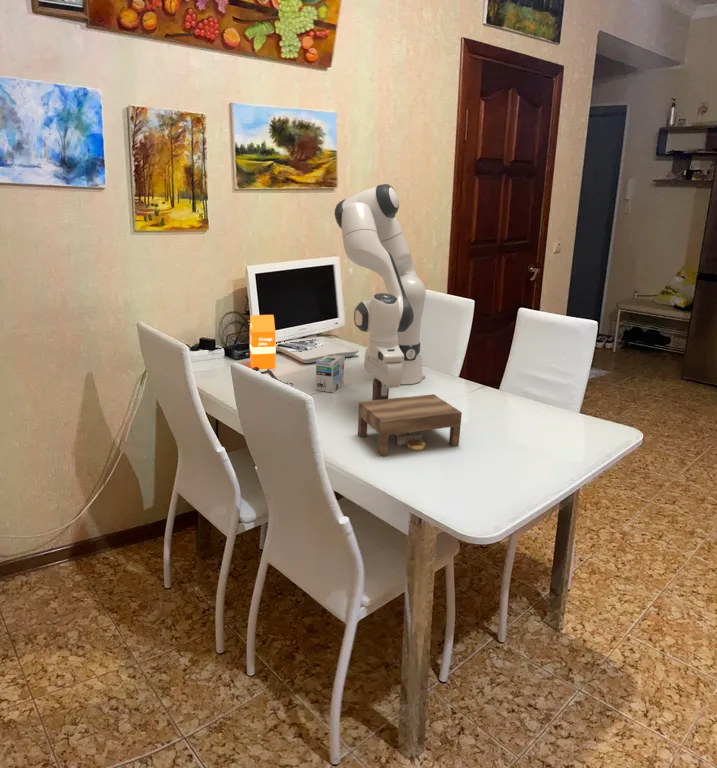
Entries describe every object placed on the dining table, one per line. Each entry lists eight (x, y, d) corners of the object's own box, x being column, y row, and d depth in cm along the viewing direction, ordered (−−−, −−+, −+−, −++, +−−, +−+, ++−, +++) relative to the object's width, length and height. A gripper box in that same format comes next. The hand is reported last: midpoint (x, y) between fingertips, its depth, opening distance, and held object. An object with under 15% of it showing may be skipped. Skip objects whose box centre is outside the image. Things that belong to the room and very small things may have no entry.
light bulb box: (333, 393, 218) (333, 363, 215) (315, 390, 220) (315, 360, 217) (344, 384, 227) (345, 355, 224) (327, 382, 230) (327, 353, 226)
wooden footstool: (357, 434, 183) (359, 401, 180) (431, 425, 192) (433, 394, 189) (380, 456, 169) (382, 421, 166) (458, 445, 178) (461, 412, 175)
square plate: (269, 351, 268) (269, 342, 267) (324, 343, 284) (324, 335, 283) (303, 367, 248) (303, 357, 246) (360, 358, 263) (360, 349, 262)
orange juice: (249, 364, 248) (249, 313, 242) (272, 362, 251) (272, 312, 245) (252, 369, 241) (251, 317, 235) (275, 368, 244) (275, 316, 237)
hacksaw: (252, 369, 242) (252, 366, 241) (278, 368, 245) (278, 364, 245) (265, 389, 220) (265, 385, 220) (294, 387, 224) (294, 383, 223)
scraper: (365, 415, 198) (366, 378, 195) (385, 413, 201) (387, 376, 197) (398, 445, 177) (400, 405, 173) (420, 442, 179) (423, 402, 176)
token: (403, 445, 177) (404, 440, 177) (419, 443, 179) (420, 438, 179) (411, 452, 173) (412, 447, 173) (428, 450, 175) (428, 445, 174)
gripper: (360, 341, 198) (358, 383, 203) (386, 358, 180) (384, 404, 184) (378, 340, 201) (376, 381, 205) (406, 357, 183) (403, 402, 187)
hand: (380, 392), depth 194 cm, fingers open, 3 cm apart
